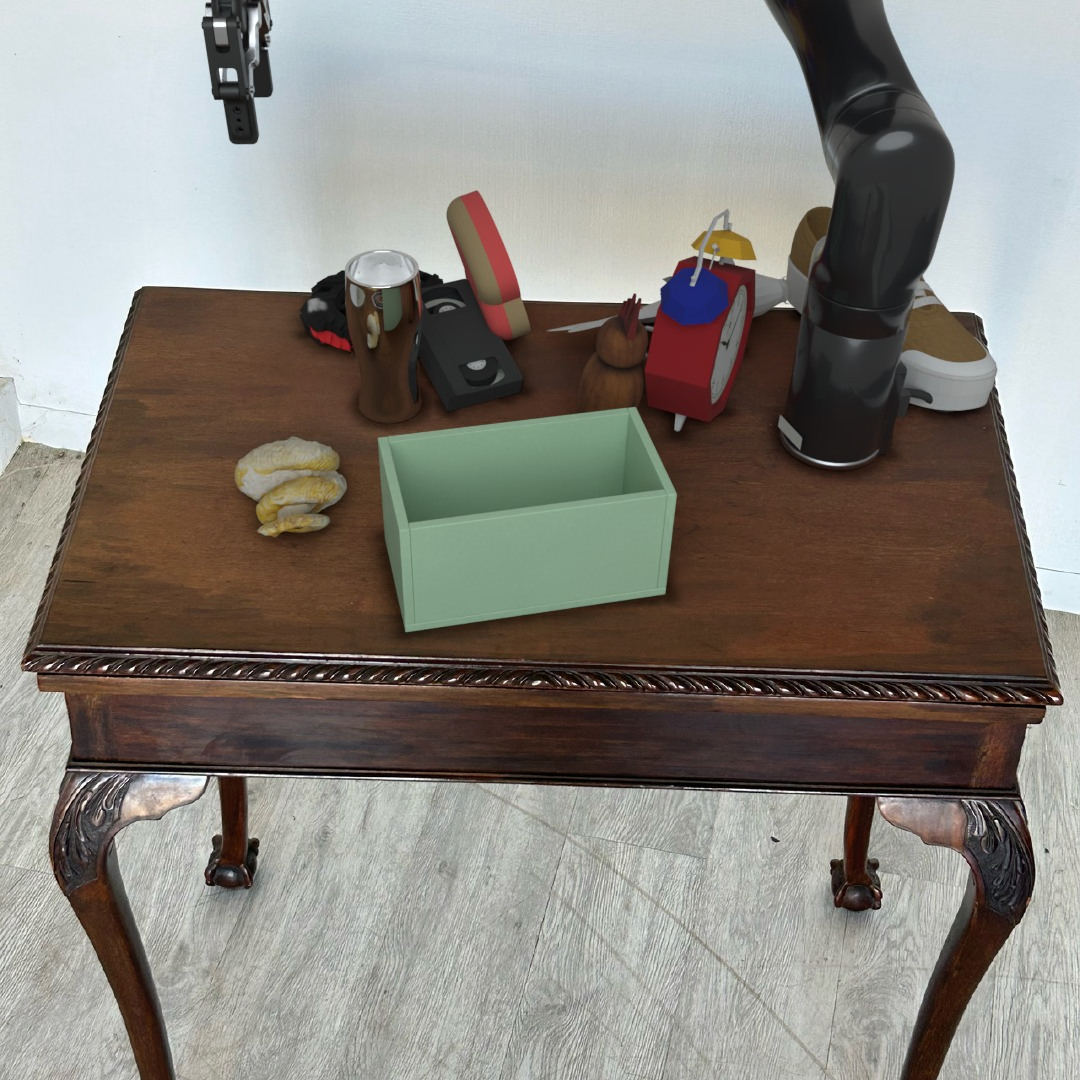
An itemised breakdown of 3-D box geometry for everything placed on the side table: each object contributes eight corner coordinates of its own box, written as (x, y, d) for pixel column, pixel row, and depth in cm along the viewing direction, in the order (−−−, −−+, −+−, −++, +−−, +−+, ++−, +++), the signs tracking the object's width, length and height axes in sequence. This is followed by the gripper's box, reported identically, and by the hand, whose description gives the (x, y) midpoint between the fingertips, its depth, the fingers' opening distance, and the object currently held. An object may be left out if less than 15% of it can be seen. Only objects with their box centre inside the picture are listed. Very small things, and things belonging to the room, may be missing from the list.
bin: (627, 505, 121) (635, 406, 114) (665, 594, 113) (677, 493, 106) (384, 537, 117) (377, 437, 110) (405, 632, 109) (399, 530, 102)
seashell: (358, 401, 122) (314, 501, 110) (371, 457, 125) (330, 559, 114) (252, 404, 124) (198, 503, 112) (268, 460, 127) (218, 560, 116)
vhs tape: (522, 392, 134) (524, 378, 132) (447, 412, 131) (448, 398, 129) (465, 291, 140) (467, 277, 139) (393, 308, 138) (394, 294, 136)
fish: (799, 239, 139) (750, 242, 148) (569, 280, 131) (532, 280, 140) (810, 338, 141) (761, 335, 151) (584, 384, 133) (547, 378, 143)
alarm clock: (701, 454, 127) (725, 264, 113) (613, 430, 129) (627, 241, 116) (747, 371, 137) (775, 187, 123) (665, 350, 139) (684, 168, 126)
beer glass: (409, 433, 128) (402, 294, 118) (341, 417, 130) (329, 279, 120) (437, 392, 133) (433, 256, 123) (371, 377, 135) (362, 242, 125)
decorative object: (503, 371, 137) (468, 296, 148) (539, 358, 137) (501, 284, 148) (468, 256, 127) (433, 185, 138) (506, 242, 127) (469, 173, 138)
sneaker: (927, 432, 129) (956, 340, 123) (755, 288, 148) (772, 202, 142) (1007, 411, 133) (1039, 321, 127) (829, 273, 152) (849, 189, 146)
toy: (361, 260, 151) (359, 236, 149) (486, 298, 146) (486, 273, 144) (271, 335, 140) (268, 310, 138) (404, 379, 135) (402, 353, 133)
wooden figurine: (626, 453, 126) (662, 314, 117) (566, 437, 127) (597, 297, 117) (636, 413, 132) (672, 277, 122) (578, 399, 132) (609, 261, 122)
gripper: (260, -65, 92) (289, 159, 103) (285, -129, 103) (309, 80, 114) (148, -64, 92) (189, 160, 103) (185, -128, 103) (219, 81, 114)
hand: (252, 118), depth 109 cm, fingers open, 8 cm apart
